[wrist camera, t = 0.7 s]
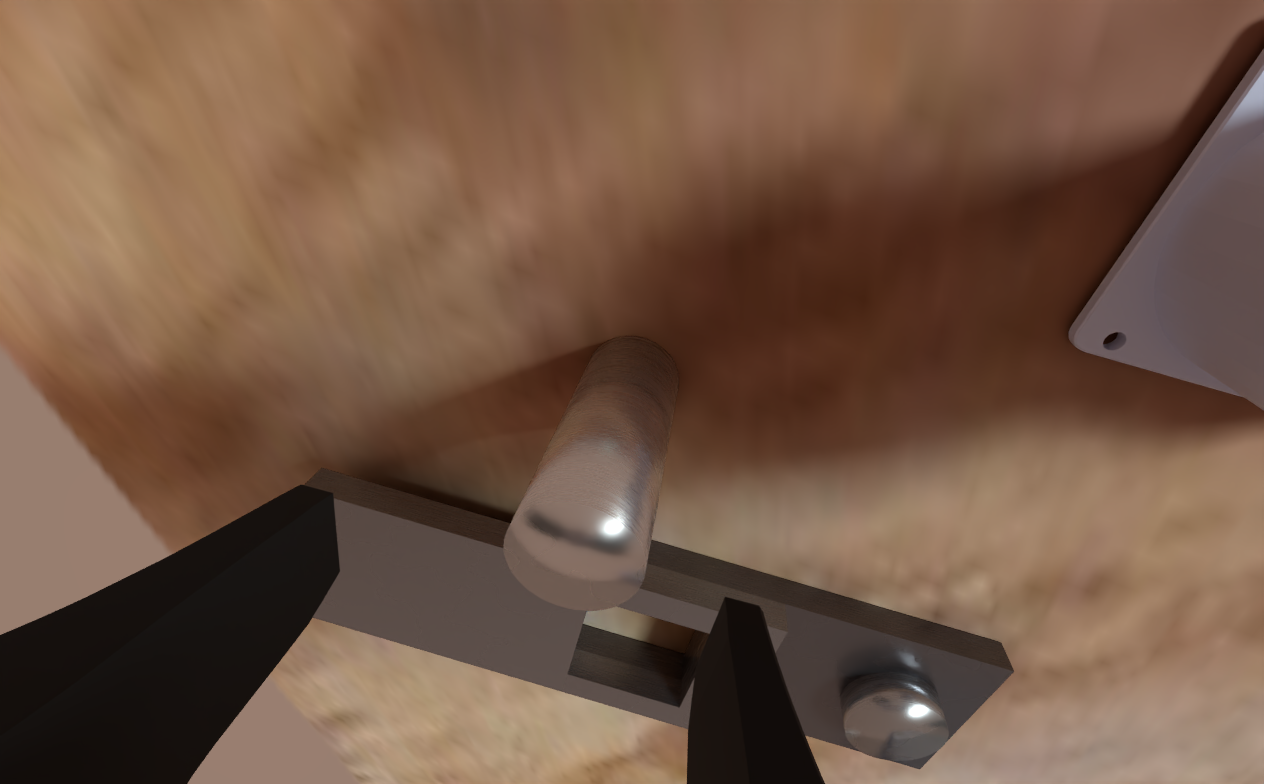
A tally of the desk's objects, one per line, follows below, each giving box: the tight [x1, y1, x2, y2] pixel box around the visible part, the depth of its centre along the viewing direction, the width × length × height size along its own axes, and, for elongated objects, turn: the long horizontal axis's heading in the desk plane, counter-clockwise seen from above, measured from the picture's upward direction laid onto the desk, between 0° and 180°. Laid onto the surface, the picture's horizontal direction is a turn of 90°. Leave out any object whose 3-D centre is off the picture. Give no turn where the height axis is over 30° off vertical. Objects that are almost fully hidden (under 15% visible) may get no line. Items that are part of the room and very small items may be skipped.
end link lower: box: [576, 540, 1014, 769], centre depth 23 cm, size 18×7×2 cm, turn 76°
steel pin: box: [503, 336, 679, 611], centre depth 16 cm, size 3×3×8 cm
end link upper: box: [305, 468, 788, 729], centre depth 23 cm, size 18×7×2 cm, turn 76°
